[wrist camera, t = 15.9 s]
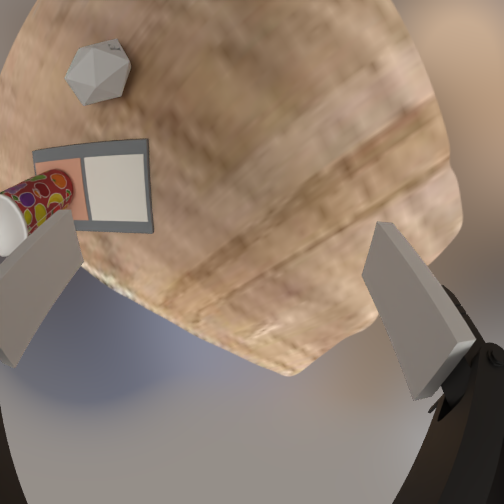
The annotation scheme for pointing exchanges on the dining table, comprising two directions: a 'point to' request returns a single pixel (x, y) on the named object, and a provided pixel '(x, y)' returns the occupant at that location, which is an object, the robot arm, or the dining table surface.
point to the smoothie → (31, 206)
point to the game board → (105, 183)
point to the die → (99, 72)
